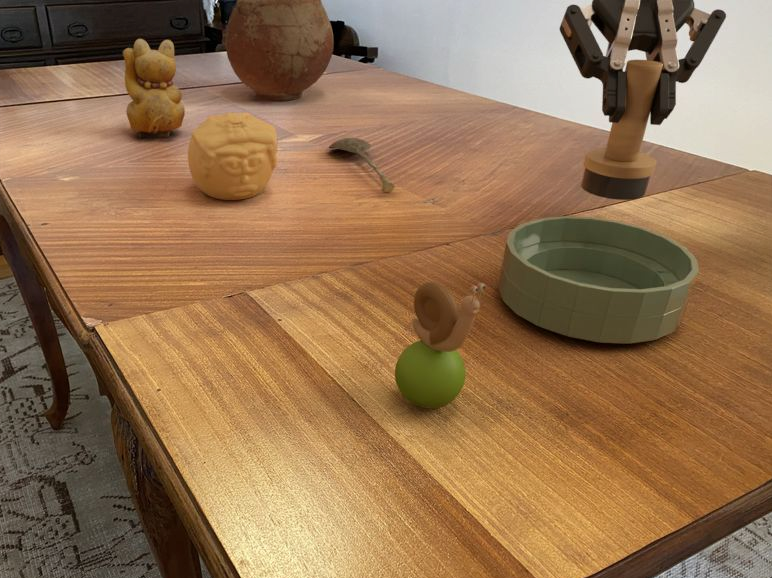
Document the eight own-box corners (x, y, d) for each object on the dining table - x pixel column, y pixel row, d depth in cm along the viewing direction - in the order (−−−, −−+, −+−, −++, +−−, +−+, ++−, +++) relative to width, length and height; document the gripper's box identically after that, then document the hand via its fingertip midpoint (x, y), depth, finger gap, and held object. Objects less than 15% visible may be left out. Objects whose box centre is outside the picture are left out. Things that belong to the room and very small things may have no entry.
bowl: (643, 270, 77) (658, 219, 74) (709, 354, 63) (731, 295, 60) (485, 264, 78) (494, 213, 75) (514, 346, 64) (526, 287, 61)
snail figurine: (432, 438, 53) (451, 296, 46) (378, 395, 57) (389, 260, 51) (483, 414, 55) (509, 276, 49) (428, 375, 60) (445, 244, 53)
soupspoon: (363, 150, 116) (324, 155, 115) (362, 129, 115) (323, 134, 113) (410, 190, 98) (365, 196, 97) (411, 166, 96) (365, 172, 95)
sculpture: (204, 212, 90) (198, 127, 85) (182, 183, 100) (175, 105, 94) (287, 201, 94) (287, 119, 88) (258, 174, 103) (256, 98, 98)
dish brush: (635, 179, 67) (668, 57, 61) (657, 202, 62) (696, 70, 56) (571, 177, 68) (598, 55, 62) (588, 199, 63) (619, 68, 57)
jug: (234, 83, 155) (228, -76, 139) (332, 85, 155) (337, -74, 139) (220, 107, 137) (211, -73, 121) (331, 110, 136) (337, -71, 120)
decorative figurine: (183, 126, 125) (176, 35, 117) (189, 139, 118) (182, 43, 110) (128, 130, 123) (116, 37, 115) (130, 143, 116) (118, 45, 108)
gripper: (572, -91, 60) (564, 89, 57) (745, -88, 59) (749, 97, 55) (551, -26, 68) (543, 137, 64) (705, -22, 66) (705, 146, 62)
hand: (638, 118), depth 60 cm, fingers closed on dish brush, 3 cm apart
